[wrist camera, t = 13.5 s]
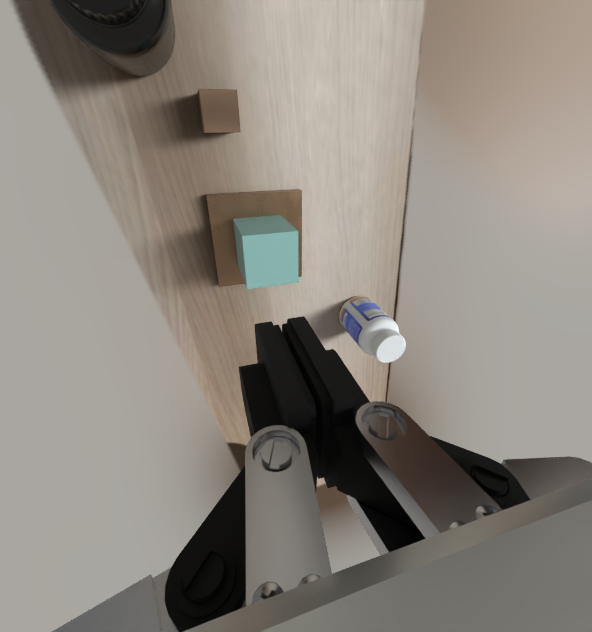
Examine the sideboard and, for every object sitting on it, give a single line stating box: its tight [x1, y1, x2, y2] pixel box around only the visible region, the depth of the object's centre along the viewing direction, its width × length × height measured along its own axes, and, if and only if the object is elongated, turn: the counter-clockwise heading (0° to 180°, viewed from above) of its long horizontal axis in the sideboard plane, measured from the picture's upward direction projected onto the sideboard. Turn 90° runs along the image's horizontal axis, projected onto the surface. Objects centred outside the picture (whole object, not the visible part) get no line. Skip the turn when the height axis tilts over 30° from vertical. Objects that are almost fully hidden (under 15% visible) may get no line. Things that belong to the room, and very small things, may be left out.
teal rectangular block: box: [233, 215, 299, 289], centre depth 33 cm, size 5×5×7 cm
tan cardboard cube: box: [197, 89, 240, 133], centre depth 28 cm, size 3×3×4 cm
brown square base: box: [206, 189, 302, 287], centre depth 33 cm, size 10×10×7 cm
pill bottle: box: [339, 296, 406, 363], centre depth 42 cm, size 5×5×10 cm
